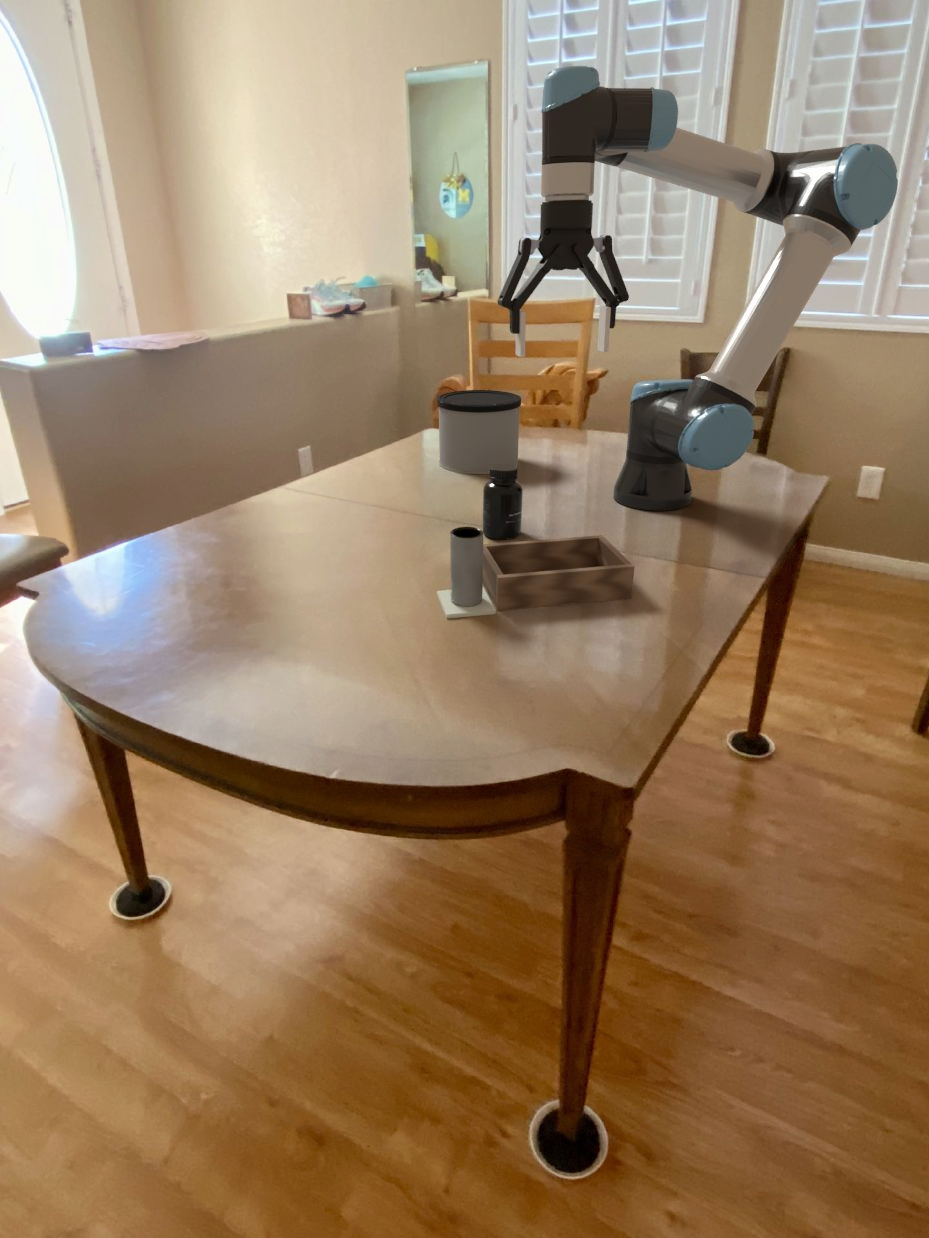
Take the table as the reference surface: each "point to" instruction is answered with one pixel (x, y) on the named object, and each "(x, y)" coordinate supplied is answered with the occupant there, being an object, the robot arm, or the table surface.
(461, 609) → the coaster
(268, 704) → the table surface
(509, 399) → the container
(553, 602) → the box frame
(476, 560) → the gray cylindrical cup
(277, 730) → the table surface
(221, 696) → the table surface
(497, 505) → the supplement bottle
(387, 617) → the table surface
